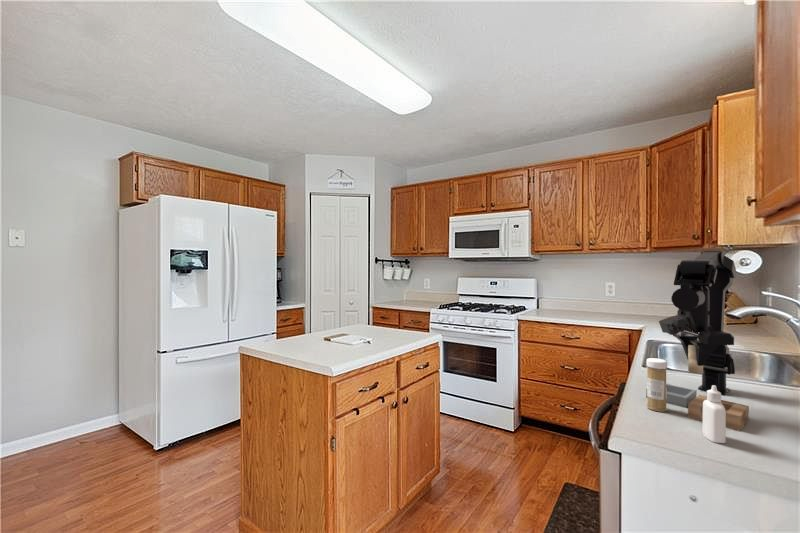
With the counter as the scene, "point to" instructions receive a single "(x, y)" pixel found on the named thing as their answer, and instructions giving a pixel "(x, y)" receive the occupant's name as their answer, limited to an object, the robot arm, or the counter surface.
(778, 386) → the counter surface
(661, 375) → the sprinkles bottle
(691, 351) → the beige wooden peg
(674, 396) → the gray square tray
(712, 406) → the eye dropper bottle
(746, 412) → the brown square frame
